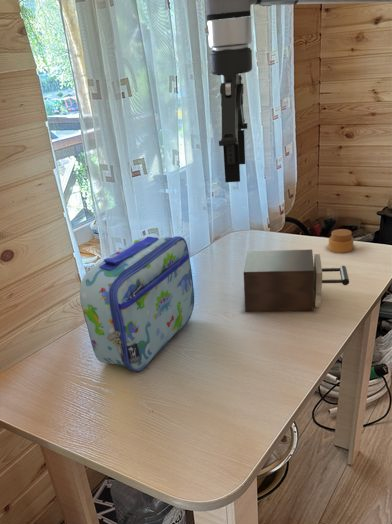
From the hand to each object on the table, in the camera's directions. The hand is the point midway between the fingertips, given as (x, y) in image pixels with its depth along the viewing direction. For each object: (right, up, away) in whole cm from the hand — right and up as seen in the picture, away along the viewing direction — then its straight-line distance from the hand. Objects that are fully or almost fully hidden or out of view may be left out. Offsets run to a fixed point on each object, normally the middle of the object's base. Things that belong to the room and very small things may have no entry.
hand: (235, 172), depth 101 cm
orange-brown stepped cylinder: (+31, -8, +38) cm, 50 cm away
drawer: (+16, -23, +15) cm, 31 cm away
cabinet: (+11, -24, +16) cm, 31 cm away
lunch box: (-17, -34, +5) cm, 38 cm away
